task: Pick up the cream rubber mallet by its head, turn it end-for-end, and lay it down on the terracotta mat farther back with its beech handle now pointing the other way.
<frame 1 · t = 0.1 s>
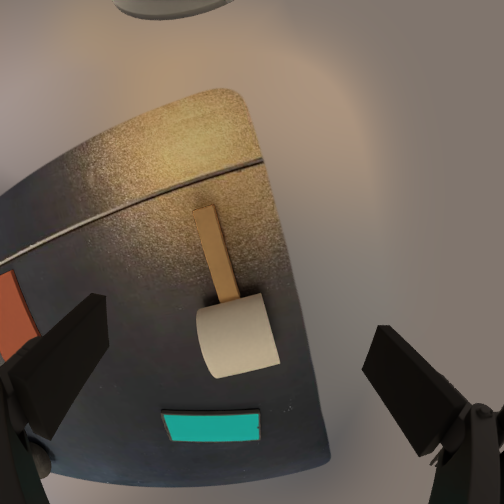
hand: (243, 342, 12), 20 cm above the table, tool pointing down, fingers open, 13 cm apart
mallet: (204, 206, 30), on the table
mat: (17, 340, 32), on the table
decorative ball: (40, 447, 39), on the table
smartphone: (212, 425, 38), on the table
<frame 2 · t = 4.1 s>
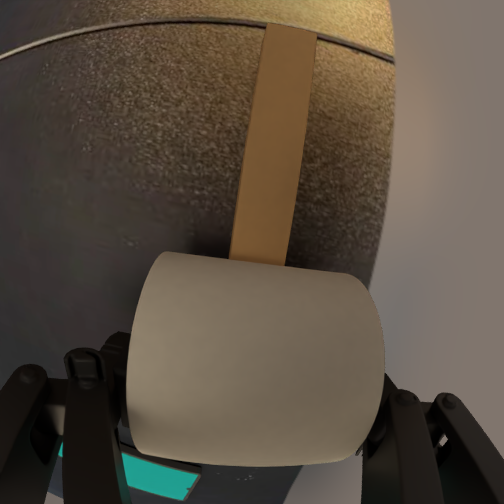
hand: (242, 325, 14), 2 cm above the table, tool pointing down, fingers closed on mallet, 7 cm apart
mallet: (284, 47, 11), point 2 cm above the table, touching gripper
smartphone: (117, 459, 18), on the table
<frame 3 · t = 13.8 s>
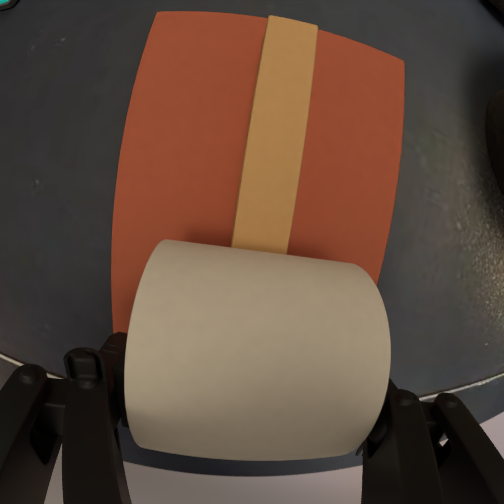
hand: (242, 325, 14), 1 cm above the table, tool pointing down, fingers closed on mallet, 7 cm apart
mallet: (285, 40, 11), point 1 cm above the table, touching gripper, mat
mat: (255, 223, 14), on the table
when the fingers open (1 cm above the table, at t = 14.1 s): mallet stays where it is, resting on mat.
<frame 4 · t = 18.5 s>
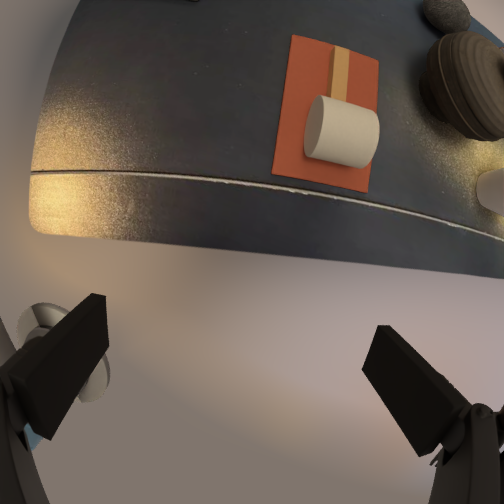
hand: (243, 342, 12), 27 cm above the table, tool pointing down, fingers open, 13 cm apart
mallet: (337, 53, 32), point 1 cm above the table, touching mat
mat: (330, 109, 35), on the table
decorative ball: (432, 21, 31), on the table
cup: (484, 189, 40), on the table
pot: (439, 97, 35), on the table
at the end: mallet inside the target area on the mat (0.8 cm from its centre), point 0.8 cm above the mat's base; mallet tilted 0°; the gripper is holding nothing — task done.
